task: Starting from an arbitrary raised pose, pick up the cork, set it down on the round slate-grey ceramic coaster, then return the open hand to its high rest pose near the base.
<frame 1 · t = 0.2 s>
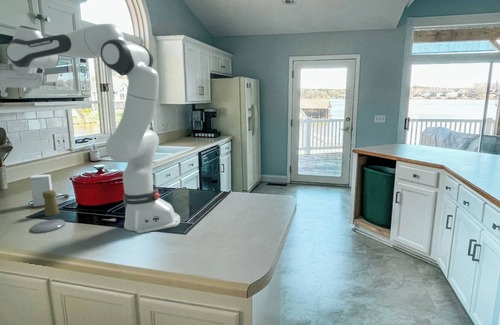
hand: (14, 96, 137), 53 cm above the counter, tool tilted 30°, fingers open, 8 cm apart
cork: (52, 214, 150), on the counter
skincare box: (44, 204, 164), on the counter
coaster: (48, 226, 134), on the counter
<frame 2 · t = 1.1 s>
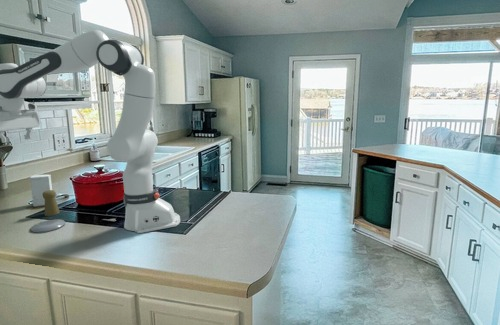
hand: (17, 140, 130), 36 cm above the counter, tool pointing down, fingers open, 8 cm apart
nothing on the counter moved.
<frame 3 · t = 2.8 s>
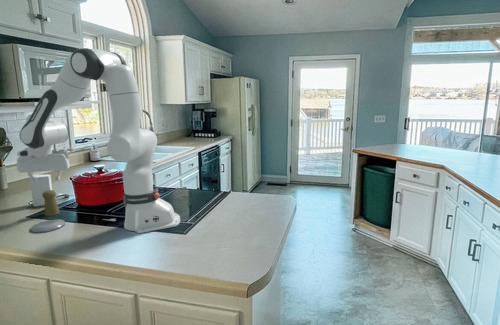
hand: (46, 180, 146), 16 cm above the counter, tool pointing down, fingers open, 8 cm apart
nothing on the counter moved.
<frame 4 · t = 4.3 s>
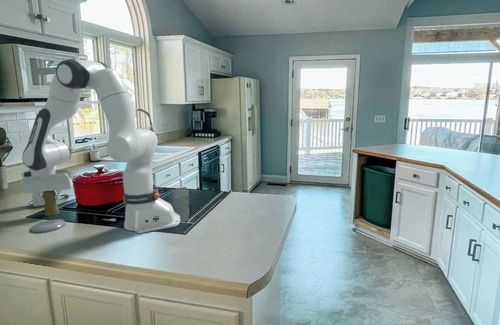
hand: (50, 199, 148), 7 cm above the counter, tool pointing down, fingers closed on cork, 5 cm apart
cork: (52, 214, 149), on the counter, touching gripper
everything else where it was.
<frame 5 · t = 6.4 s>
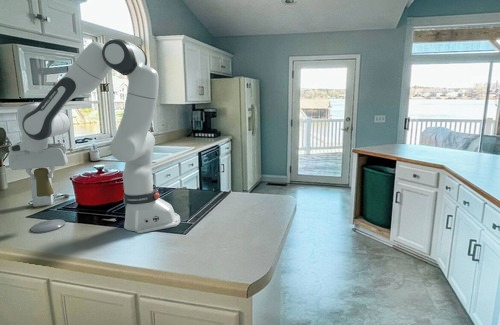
hand: (42, 178, 131), 20 cm above the counter, tool pointing down, fingers closed on cork, 5 cm apart
cork: (45, 194, 133), point 13 cm above the counter, touching gripper
everything else where it was.
when the fingers open (9 cm above the counter, at t = 9.0 s): cork drops 1 cm, resting on coaster.
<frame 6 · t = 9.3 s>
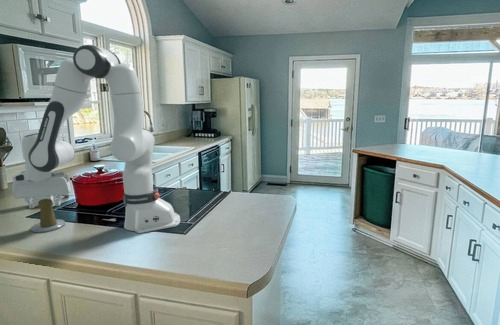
hand: (45, 206, 132), 9 cm above the counter, tool pointing down, fingers open, 8 cm apart
cork: (48, 225, 134), point 1 cm above the counter, touching coaster
everything else where it was.
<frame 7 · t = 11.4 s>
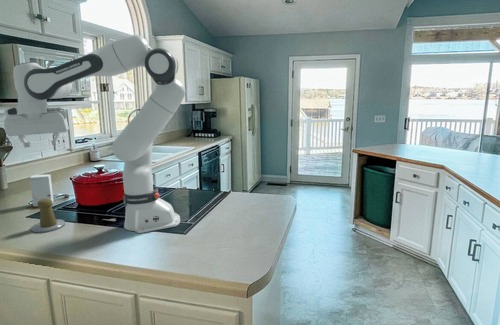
hand: (41, 146, 122), 35 cm above the counter, tool pointing down, fingers open, 8 cm apart
nothing on the counter moved.
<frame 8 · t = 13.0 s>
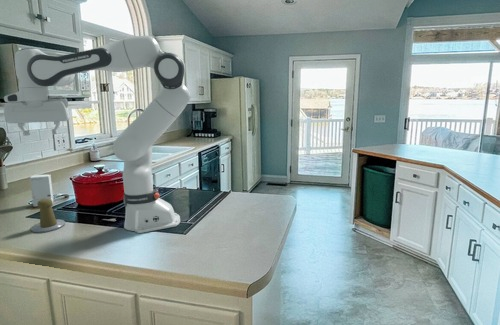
hand: (41, 134, 119), 39 cm above the counter, tool pointing down, fingers open, 8 cm apart
nothing on the counter moved.
at the end: cork 0.2 cm from the coaster (horizontally); cork tilted 0°; the gripper is holding nothing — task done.
